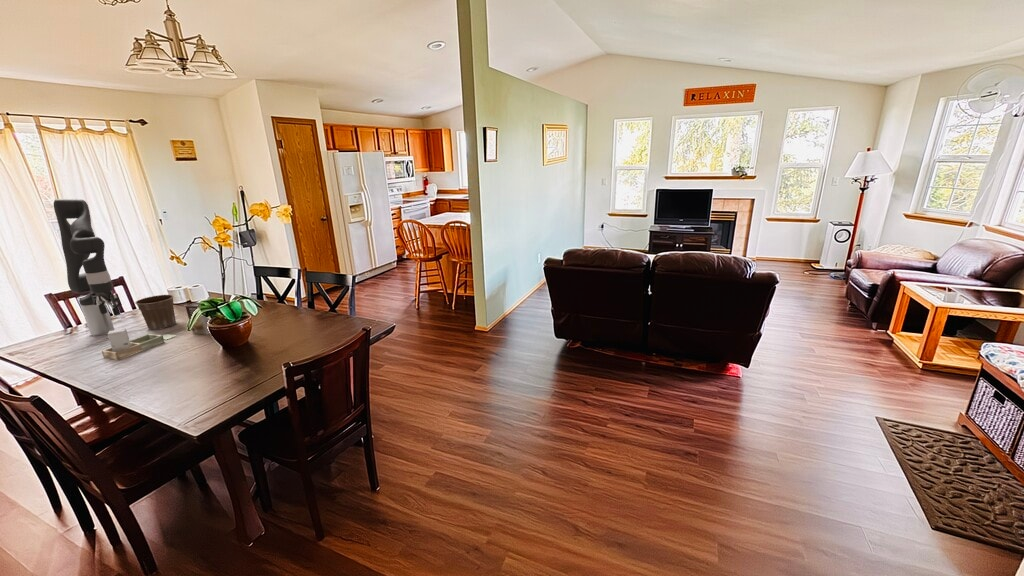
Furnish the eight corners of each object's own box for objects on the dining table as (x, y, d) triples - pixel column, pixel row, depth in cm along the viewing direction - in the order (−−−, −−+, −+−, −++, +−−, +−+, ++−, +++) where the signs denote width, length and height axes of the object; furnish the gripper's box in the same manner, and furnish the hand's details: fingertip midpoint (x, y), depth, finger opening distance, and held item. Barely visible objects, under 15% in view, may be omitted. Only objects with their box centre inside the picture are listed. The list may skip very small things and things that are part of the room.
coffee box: (191, 334, 215) (184, 306, 210) (201, 329, 221) (194, 302, 216) (207, 334, 214) (200, 306, 209) (217, 329, 220) (210, 302, 215)
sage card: (156, 338, 209) (156, 338, 209) (166, 334, 214) (166, 334, 214) (166, 339, 208) (166, 339, 208) (176, 336, 212) (176, 335, 212)
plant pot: (149, 323, 230) (141, 296, 225) (184, 318, 236) (177, 292, 231) (138, 333, 216) (129, 305, 211) (175, 328, 222) (168, 301, 217)
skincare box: (114, 357, 189) (106, 334, 186) (116, 353, 193) (108, 330, 189) (131, 354, 193) (123, 331, 189) (133, 350, 196) (126, 327, 192)
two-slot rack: (103, 357, 189) (101, 351, 188) (150, 339, 208) (148, 333, 207) (118, 360, 187) (116, 353, 186) (164, 341, 205) (162, 335, 204)
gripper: (78, 282, 180) (90, 315, 185) (100, 284, 176) (112, 318, 181) (98, 277, 187) (109, 310, 192) (120, 279, 183) (131, 312, 188)
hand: (110, 314), depth 187 cm, fingers open, 8 cm apart
